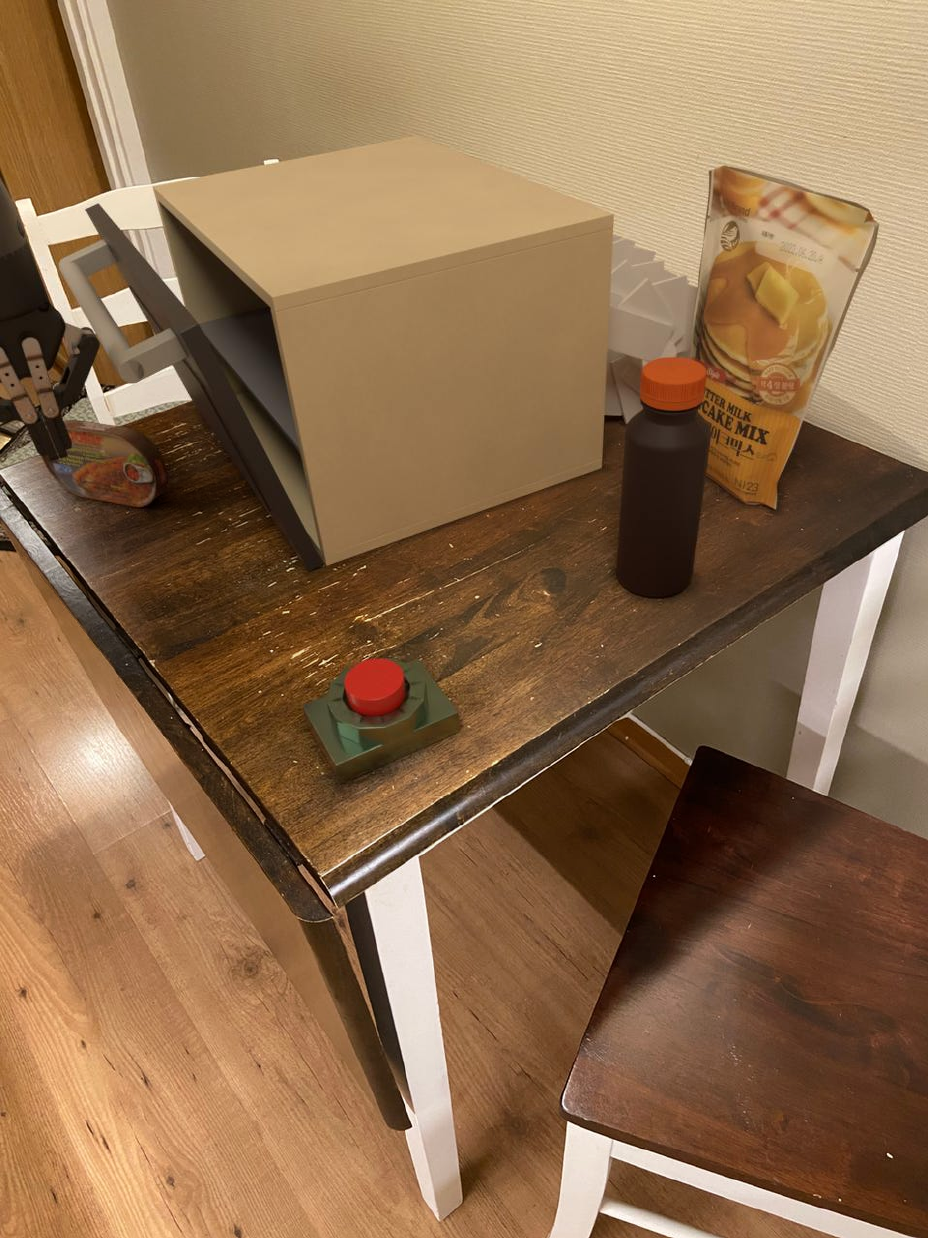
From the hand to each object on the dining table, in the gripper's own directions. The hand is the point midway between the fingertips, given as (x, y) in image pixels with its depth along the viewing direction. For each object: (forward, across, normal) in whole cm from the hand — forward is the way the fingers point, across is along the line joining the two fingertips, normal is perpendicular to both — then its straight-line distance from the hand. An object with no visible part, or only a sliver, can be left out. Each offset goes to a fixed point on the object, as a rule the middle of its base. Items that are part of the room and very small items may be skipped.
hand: (57, 454), depth 75 cm
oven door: (+15, -15, -12) cm, 24 cm away
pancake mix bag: (+15, -62, +16) cm, 66 cm away
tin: (+15, -4, -17) cm, 23 cm away
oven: (+15, -35, -12) cm, 40 cm away
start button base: (+14, -15, +30) cm, 37 cm away
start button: (+11, -15, +30) cm, 35 cm away
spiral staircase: (+15, -62, -7) cm, 64 cm away
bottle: (+15, -44, +26) cm, 53 cm away
